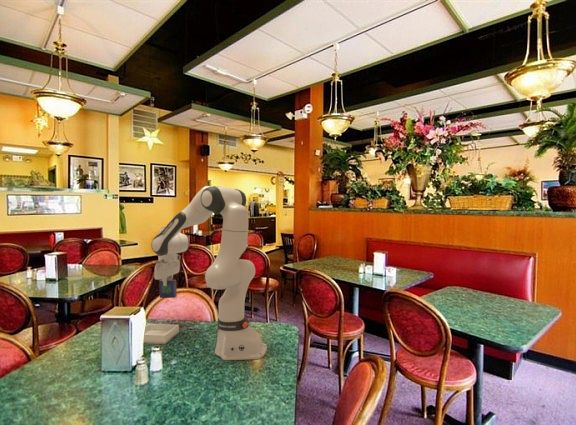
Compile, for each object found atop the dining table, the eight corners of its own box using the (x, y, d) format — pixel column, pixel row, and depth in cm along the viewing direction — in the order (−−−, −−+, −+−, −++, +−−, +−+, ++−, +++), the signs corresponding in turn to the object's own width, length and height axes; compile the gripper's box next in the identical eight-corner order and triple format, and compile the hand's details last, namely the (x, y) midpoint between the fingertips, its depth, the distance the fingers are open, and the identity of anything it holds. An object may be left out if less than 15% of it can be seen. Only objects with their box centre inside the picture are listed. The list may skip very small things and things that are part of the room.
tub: (178, 332, 158) (178, 324, 158) (165, 344, 144) (165, 335, 144) (148, 331, 160) (148, 323, 160) (132, 342, 146) (132, 334, 146)
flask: (177, 296, 165) (176, 276, 165) (174, 298, 162) (174, 277, 162) (160, 296, 166) (160, 276, 166) (158, 298, 163) (157, 277, 163)
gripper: (162, 261, 153) (163, 289, 153) (181, 255, 173) (182, 280, 173) (150, 261, 154) (150, 289, 154) (171, 255, 174) (171, 280, 174)
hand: (167, 284), depth 164 cm, fingers closed on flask, 3 cm apart
